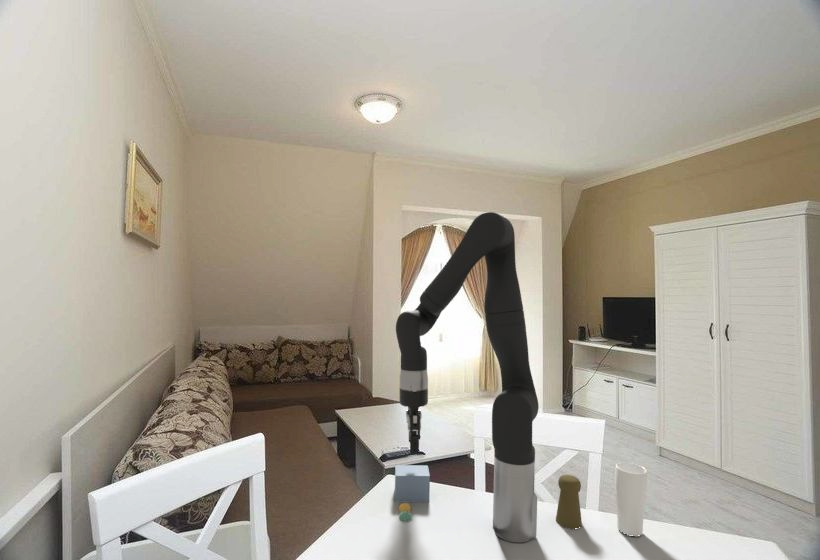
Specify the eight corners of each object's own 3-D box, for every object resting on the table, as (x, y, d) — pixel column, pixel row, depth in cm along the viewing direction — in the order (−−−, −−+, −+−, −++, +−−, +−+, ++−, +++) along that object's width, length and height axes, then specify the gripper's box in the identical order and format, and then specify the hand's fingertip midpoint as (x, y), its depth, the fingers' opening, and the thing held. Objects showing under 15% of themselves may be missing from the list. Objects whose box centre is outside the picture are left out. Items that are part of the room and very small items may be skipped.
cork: (581, 518, 107) (581, 473, 107) (583, 531, 101) (584, 484, 101) (555, 513, 108) (556, 470, 109) (555, 526, 103) (556, 480, 103)
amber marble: (410, 512, 107) (410, 500, 107) (411, 518, 104) (411, 506, 104) (398, 512, 107) (398, 500, 107) (398, 518, 104) (399, 506, 104)
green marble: (411, 520, 103) (411, 508, 104) (411, 527, 100) (412, 514, 101) (398, 520, 103) (399, 508, 103) (399, 527, 100) (399, 514, 100)
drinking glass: (650, 542, 97) (651, 475, 97) (618, 537, 99) (619, 472, 99) (640, 525, 104) (641, 463, 104) (610, 521, 105) (611, 460, 105)
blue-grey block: (394, 507, 110) (395, 475, 110) (394, 494, 116) (395, 465, 116) (429, 507, 110) (429, 476, 110) (427, 495, 116) (427, 465, 116)
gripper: (399, 380, 120) (398, 438, 120) (400, 392, 106) (399, 458, 106) (425, 380, 121) (425, 438, 120) (430, 392, 106) (430, 458, 106)
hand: (413, 447), depth 113 cm, fingers open, 8 cm apart
